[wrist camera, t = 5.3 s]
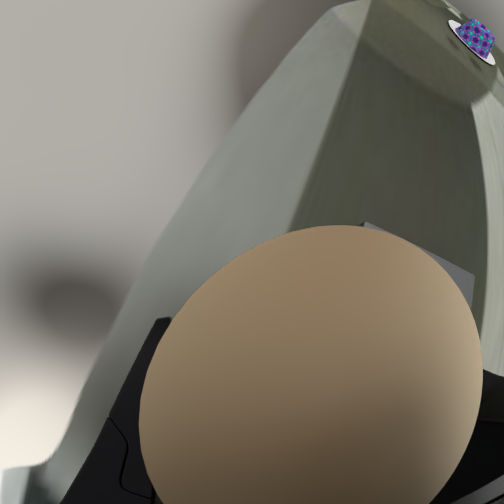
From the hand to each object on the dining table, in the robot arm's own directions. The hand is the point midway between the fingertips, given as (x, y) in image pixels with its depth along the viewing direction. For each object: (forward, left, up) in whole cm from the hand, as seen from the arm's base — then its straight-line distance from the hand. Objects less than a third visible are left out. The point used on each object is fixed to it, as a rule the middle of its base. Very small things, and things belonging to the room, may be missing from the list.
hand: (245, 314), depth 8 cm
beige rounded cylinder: (-1, +1, -7) cm, 7 cm away
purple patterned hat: (-27, -58, -9) cm, 64 cm away
